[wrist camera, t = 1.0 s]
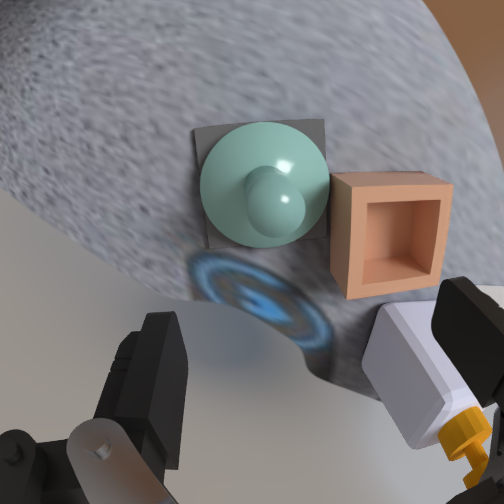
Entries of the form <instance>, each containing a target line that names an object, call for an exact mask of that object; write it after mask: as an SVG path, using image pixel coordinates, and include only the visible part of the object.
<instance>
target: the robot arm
mask: <svg viewBox="0 0 504 504" xmlns="http://www.w3.org/2000/svg"><path fill="white" fill-rule="evenodd" d="M431 331H432V335H433V337H434V339H435V340H436V341H437V343H438V344H439V346H440V347H441V348H442V350H443V351H444V352H445V354H446V355H447V357H448V358H449V359H450V361H451V362H452V364H453V365H454V367H455V368H456V369H457V371H458V372H459V374H460V375H461V377H462V378H463V380H464V381H465V383H466V384H467V386H468V387H469V389H470V390H471V392H472V393H473V395H474V396H475V398H476V399H477V401H478V402H479V404H480V405H481V407H482V409H483V408H485V407H487V406H489V405H491V404H493V403H495V402H496V403H497V404H498V407H497V408H496V410H495V413H494V419H493V431H492V440H491V448H490V455H489V461H488V464H487V467H486V469H485V471H484V473H483V474H482V476H481V478H480V480H479V482H478V484H477V485H475V486H473V487H472V488H470V489H468V490H466V491H464V492H462V493H460V494H458V495H456V496H455V497H453V498H452V499H451V500H450V501H449V502H447V503H446V504H504V309H503V308H502V307H499V304H498V303H497V302H496V301H495V300H494V299H492V298H491V297H490V296H489V295H487V294H485V293H484V292H482V291H481V290H480V289H479V288H478V287H476V286H475V285H474V284H473V283H472V282H471V281H470V280H469V279H468V278H466V277H464V276H461V277H456V278H451V279H445V280H443V281H442V283H441V285H440V288H439V292H438V296H437V300H436V304H435V308H434V312H433V315H432V319H431ZM110 371H111V372H109V374H108V377H107V380H106V383H105V385H104V388H103V391H102V394H101V397H100V400H99V402H98V405H97V409H96V411H95V414H94V417H93V419H90V420H87V421H85V422H83V423H81V424H80V425H79V426H77V427H76V428H75V429H74V430H73V431H72V433H71V434H70V436H69V438H68V439H65V440H58V441H50V442H42V443H36V442H35V440H33V438H32V437H31V436H30V435H29V434H28V433H26V432H25V431H22V430H18V429H14V430H9V431H6V432H4V433H3V434H1V435H0V504H179V503H178V502H177V501H176V500H175V499H174V497H173V496H172V495H171V493H170V492H169V491H168V489H167V488H166V487H165V486H164V484H163V483H164V473H165V469H171V470H178V466H179V454H180V442H181V433H182V423H183V413H184V403H185V395H186V386H187V378H188V359H187V353H186V349H185V345H184V342H183V338H182V334H181V330H180V326H179V323H178V319H177V316H176V313H175V312H174V311H172V312H155V313H148V314H147V315H146V318H145V320H144V323H143V326H142V329H141V331H134V332H131V333H130V334H129V335H128V336H127V337H126V338H125V339H124V340H123V341H122V342H121V343H120V345H119V347H118V350H117V353H116V355H115V361H113V363H112V366H111V369H110Z"/></svg>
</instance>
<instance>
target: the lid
mask: <svg viewBox="0 0 504 504" xmlns="http://www.w3.org/2000/svg"><path fill="white" fill-rule="evenodd" d="M329 189H330V179H329V172H328V168H327V165H326V162H325V159H324V157H323V155H322V153H321V152H320V150H319V149H318V147H317V146H316V145H315V144H314V143H313V142H312V141H311V140H310V139H309V138H308V137H307V136H306V135H304V134H303V133H301V132H300V131H298V130H296V129H294V128H292V127H290V126H287V125H284V124H280V123H274V122H256V123H250V124H246V125H243V126H241V127H238V128H236V129H234V130H232V131H231V132H229V133H228V134H226V135H225V136H224V137H223V138H221V139H220V140H219V141H218V142H217V143H216V145H215V146H214V147H213V149H212V150H211V151H210V153H209V155H208V157H207V159H206V160H205V163H204V166H203V168H202V173H201V177H200V195H201V200H202V204H203V207H204V209H205V212H206V214H207V216H208V217H209V219H210V220H211V222H212V223H213V225H214V226H215V227H216V228H217V229H218V230H219V231H220V232H221V233H223V234H224V235H225V236H226V237H228V238H230V239H231V240H233V241H235V242H237V243H240V244H242V245H245V246H250V247H255V248H272V247H278V246H282V245H285V244H288V243H290V242H293V241H295V240H296V239H298V238H300V237H301V236H303V235H304V234H305V233H307V232H308V231H309V230H310V229H311V228H312V227H313V226H314V225H315V223H316V222H317V221H318V220H319V218H320V216H321V215H322V213H323V211H324V209H325V207H326V203H327V200H328V196H329Z"/></svg>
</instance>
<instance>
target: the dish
mask: <svg viewBox="0 0 504 504" xmlns="http://www.w3.org/2000/svg"><path fill="white" fill-rule="evenodd" d="M452 194H453V184H451V183H449V182H446V181H444V180H441V179H439V178H437V177H434V176H432V175H429V174H427V173H424V172H422V171H387V172H348V173H331V244H330V272H331V274H332V275H333V277H334V279H335V281H336V282H337V284H338V286H339V288H340V289H341V291H342V293H343V295H344V296H345V298H346V300H350V299H357V298H364V297H370V296H377V295H383V294H389V293H395V292H401V291H407V290H413V289H419V288H424V287H430V286H435V285H438V283H439V279H440V274H441V269H442V264H443V259H444V253H445V247H446V241H447V235H448V228H449V220H450V213H451V204H452Z"/></svg>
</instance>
